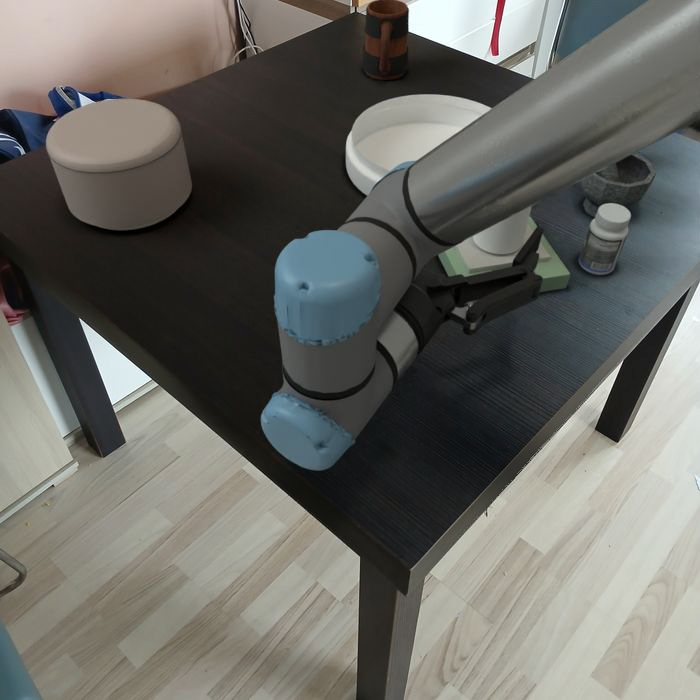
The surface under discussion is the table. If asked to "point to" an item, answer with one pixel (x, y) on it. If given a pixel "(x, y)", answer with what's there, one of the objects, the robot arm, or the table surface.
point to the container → (120, 163)
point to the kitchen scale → (505, 261)
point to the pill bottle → (605, 239)
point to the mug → (386, 39)
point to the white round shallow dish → (403, 133)
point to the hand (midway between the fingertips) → (480, 218)
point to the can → (504, 235)
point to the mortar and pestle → (618, 184)
